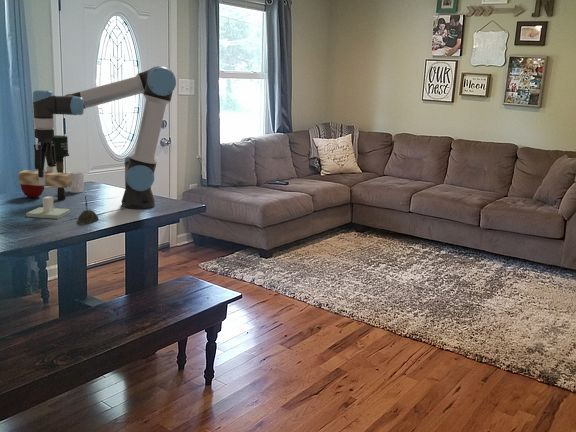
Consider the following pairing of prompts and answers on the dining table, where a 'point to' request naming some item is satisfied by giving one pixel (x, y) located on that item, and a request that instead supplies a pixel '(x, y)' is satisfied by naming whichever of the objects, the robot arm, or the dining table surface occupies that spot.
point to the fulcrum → (48, 210)
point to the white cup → (77, 181)
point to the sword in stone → (87, 216)
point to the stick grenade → (60, 159)
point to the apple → (32, 190)
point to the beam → (51, 178)
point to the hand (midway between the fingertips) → (46, 183)
